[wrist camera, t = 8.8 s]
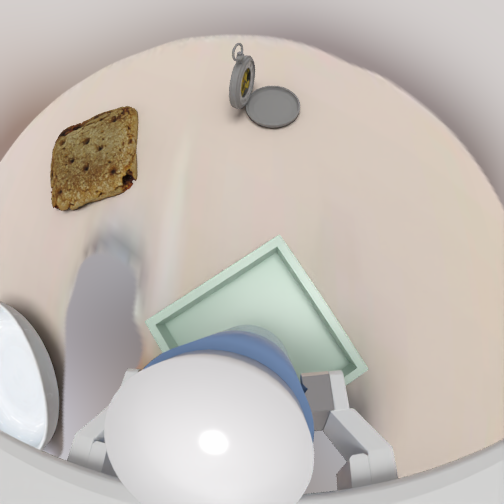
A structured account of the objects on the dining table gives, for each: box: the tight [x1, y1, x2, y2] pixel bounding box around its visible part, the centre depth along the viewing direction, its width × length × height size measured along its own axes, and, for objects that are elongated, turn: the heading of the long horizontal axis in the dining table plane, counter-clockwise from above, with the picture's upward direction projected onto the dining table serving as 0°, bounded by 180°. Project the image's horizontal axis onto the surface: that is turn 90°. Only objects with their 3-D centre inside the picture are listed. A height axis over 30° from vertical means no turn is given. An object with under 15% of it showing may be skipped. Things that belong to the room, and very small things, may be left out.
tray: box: [145, 234, 368, 386], centre depth 27 cm, size 15×15×4 cm
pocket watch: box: [229, 43, 300, 128], centre depth 30 cm, size 8×8×10 cm
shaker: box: [104, 325, 314, 504], centre depth 11 cm, size 5×5×12 cm
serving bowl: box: [0, 302, 59, 450], centre depth 26 cm, size 21×21×7 cm
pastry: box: [50, 106, 138, 211], centre depth 34 cm, size 17×17×3 cm
